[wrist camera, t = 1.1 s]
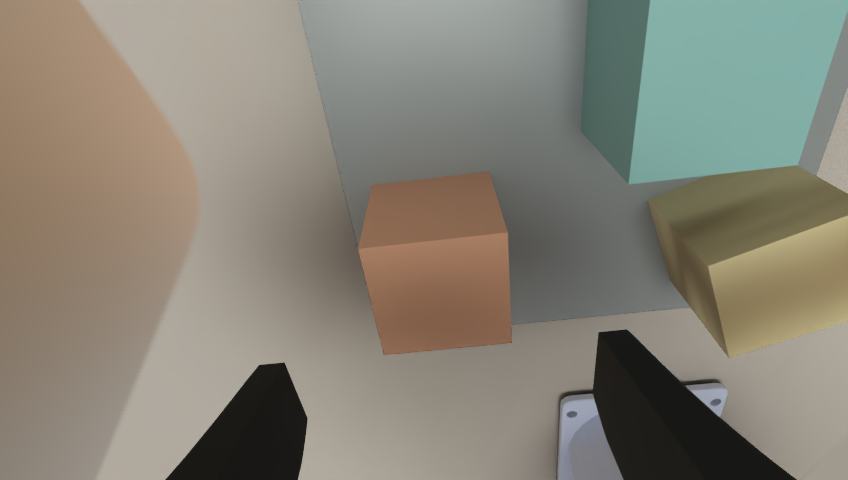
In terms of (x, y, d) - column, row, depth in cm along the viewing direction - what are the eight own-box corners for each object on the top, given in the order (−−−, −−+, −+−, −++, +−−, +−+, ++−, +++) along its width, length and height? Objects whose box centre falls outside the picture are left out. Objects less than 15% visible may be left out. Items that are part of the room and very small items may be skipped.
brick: (781, 241, 17) (870, 313, 14) (671, 281, 18) (728, 358, 15) (770, 150, 15) (870, 207, 12) (647, 200, 16) (707, 266, 13)
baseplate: (754, 281, 19) (772, 299, 18) (381, 318, 20) (379, 337, 19) (1012, -537, 9) (1087, -600, 8) (220, -375, 10) (196, -412, 9)
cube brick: (494, 267, 18) (511, 342, 14) (391, 278, 18) (383, 355, 14) (489, 171, 15) (507, 232, 12) (371, 185, 16) (358, 248, 12)
